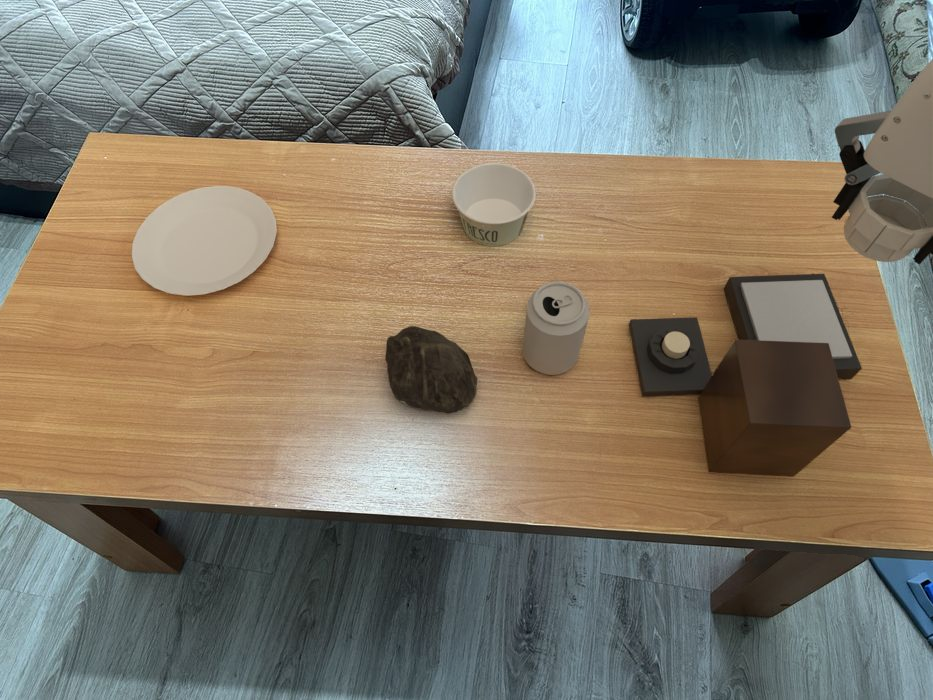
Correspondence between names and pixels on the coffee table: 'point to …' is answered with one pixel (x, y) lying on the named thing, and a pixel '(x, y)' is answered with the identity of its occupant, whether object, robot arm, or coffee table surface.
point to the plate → (204, 240)
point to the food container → (493, 202)
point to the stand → (771, 408)
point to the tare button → (675, 345)
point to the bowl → (888, 220)
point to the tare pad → (665, 372)
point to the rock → (429, 371)
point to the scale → (791, 314)
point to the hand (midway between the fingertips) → (881, 230)
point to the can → (554, 327)
